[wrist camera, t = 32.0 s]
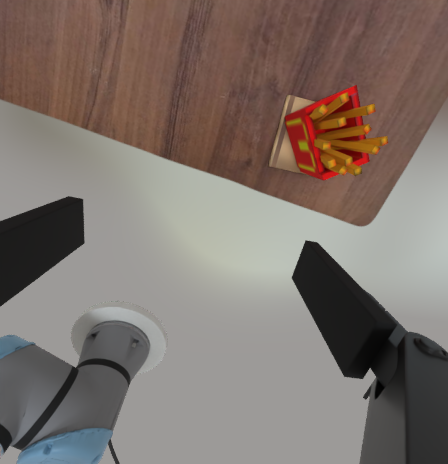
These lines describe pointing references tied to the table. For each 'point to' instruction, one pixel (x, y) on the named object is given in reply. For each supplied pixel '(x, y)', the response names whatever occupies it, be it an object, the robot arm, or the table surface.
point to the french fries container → (332, 135)
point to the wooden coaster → (286, 137)
